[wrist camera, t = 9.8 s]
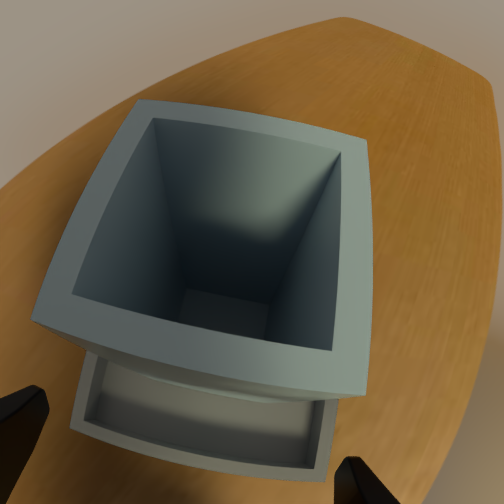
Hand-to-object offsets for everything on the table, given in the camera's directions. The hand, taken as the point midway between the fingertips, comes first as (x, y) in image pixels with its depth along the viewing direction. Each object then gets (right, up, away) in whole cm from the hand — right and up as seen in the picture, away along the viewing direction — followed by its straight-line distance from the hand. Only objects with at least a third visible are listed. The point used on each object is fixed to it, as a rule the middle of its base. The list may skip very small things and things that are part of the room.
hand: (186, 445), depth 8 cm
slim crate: (0, 0, +10) cm, 10 cm away
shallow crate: (0, 0, +10) cm, 10 cm away
